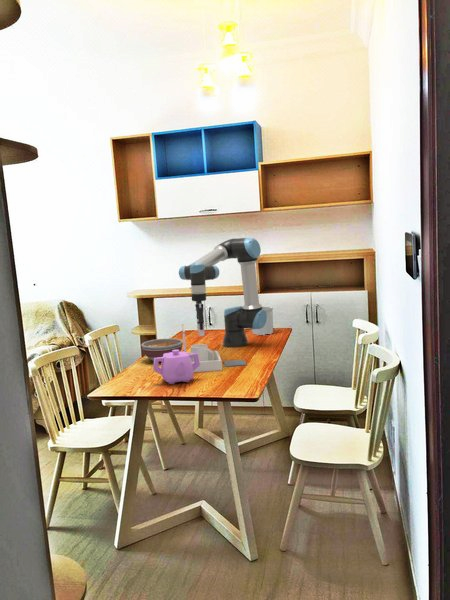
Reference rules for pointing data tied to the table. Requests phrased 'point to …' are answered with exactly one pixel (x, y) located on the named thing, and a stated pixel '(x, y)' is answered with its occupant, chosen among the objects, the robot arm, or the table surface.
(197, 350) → the mug
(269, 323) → the utensil holder
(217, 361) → the cold frame
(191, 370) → the purple rounded pot
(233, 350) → the table surface
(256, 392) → the table surface
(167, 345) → the bowl
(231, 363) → the slate mat
